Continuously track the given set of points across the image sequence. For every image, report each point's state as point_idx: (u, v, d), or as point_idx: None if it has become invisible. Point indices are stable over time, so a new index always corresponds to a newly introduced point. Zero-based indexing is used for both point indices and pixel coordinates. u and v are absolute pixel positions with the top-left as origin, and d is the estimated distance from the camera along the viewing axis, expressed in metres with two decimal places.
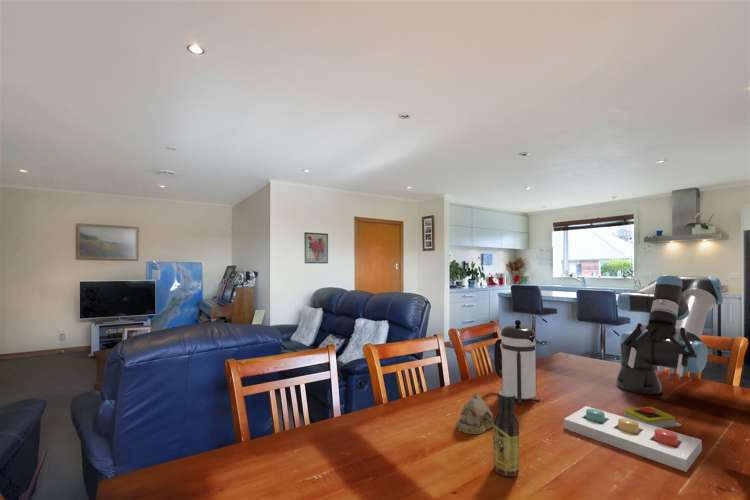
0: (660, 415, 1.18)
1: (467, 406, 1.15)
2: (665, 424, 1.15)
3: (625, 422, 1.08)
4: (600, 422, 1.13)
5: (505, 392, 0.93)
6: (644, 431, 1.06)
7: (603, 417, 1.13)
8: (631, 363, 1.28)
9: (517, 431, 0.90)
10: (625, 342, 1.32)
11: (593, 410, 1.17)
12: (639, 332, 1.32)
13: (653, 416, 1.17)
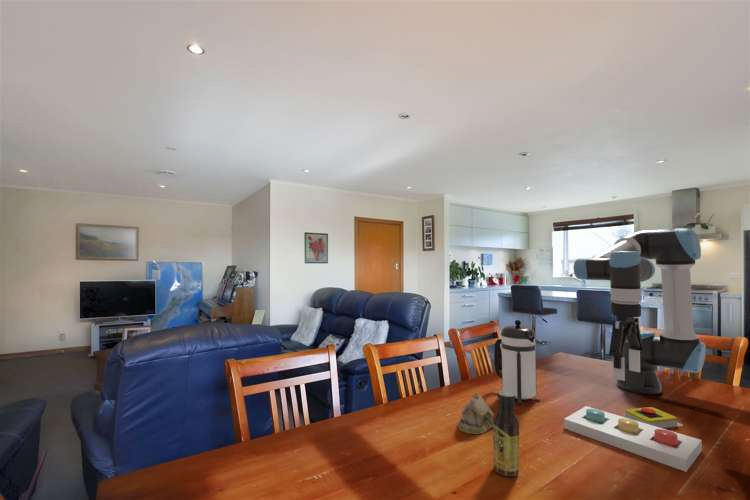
0: (661, 415, 1.18)
1: (468, 406, 1.15)
2: (666, 424, 1.15)
3: (625, 422, 1.08)
4: (600, 422, 1.13)
5: (505, 392, 0.93)
6: (644, 431, 1.06)
7: (603, 417, 1.13)
8: (631, 368, 1.13)
9: (517, 431, 0.90)
10: None
11: (593, 410, 1.17)
12: None
13: (654, 416, 1.17)
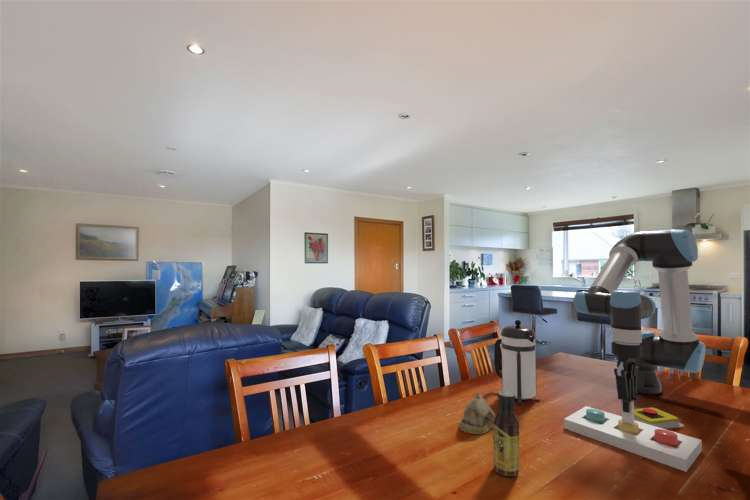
0: (663, 416, 1.17)
1: (470, 406, 1.15)
2: (668, 425, 1.15)
3: (625, 423, 1.08)
4: (600, 422, 1.13)
5: (505, 392, 0.93)
6: (644, 431, 1.06)
7: (603, 417, 1.13)
8: None
9: (517, 431, 0.90)
10: None
11: (593, 410, 1.17)
12: None
13: (656, 417, 1.17)
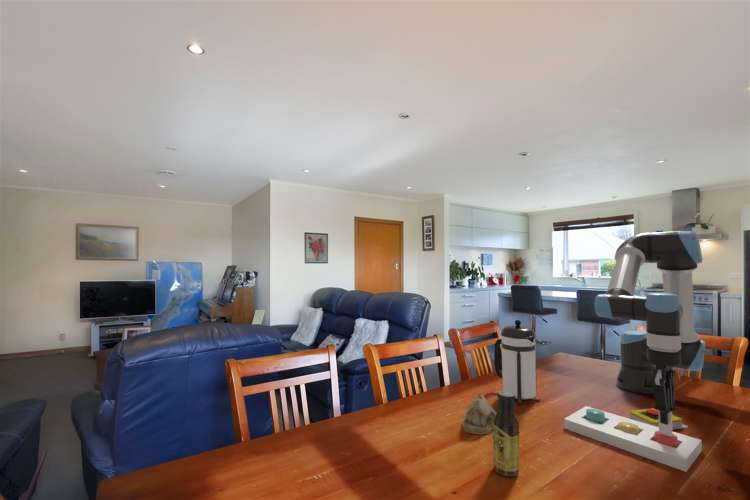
0: None
1: (473, 406, 1.15)
2: None
3: (626, 426, 1.08)
4: (600, 422, 1.13)
5: (505, 392, 0.93)
6: (644, 431, 1.06)
7: (603, 417, 1.13)
8: None
9: (517, 431, 0.90)
10: None
11: (593, 410, 1.17)
12: None
13: None
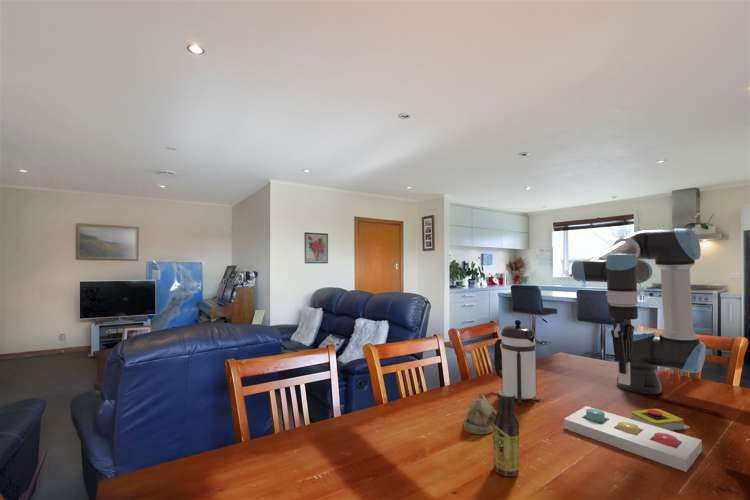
0: (668, 417, 1.16)
1: (475, 406, 1.15)
2: (673, 427, 1.14)
3: (626, 426, 1.08)
4: (600, 422, 1.13)
5: (505, 392, 0.93)
6: (644, 431, 1.06)
7: (603, 417, 1.13)
8: None
9: (517, 431, 0.90)
10: None
11: (593, 410, 1.17)
12: None
13: (661, 418, 1.15)
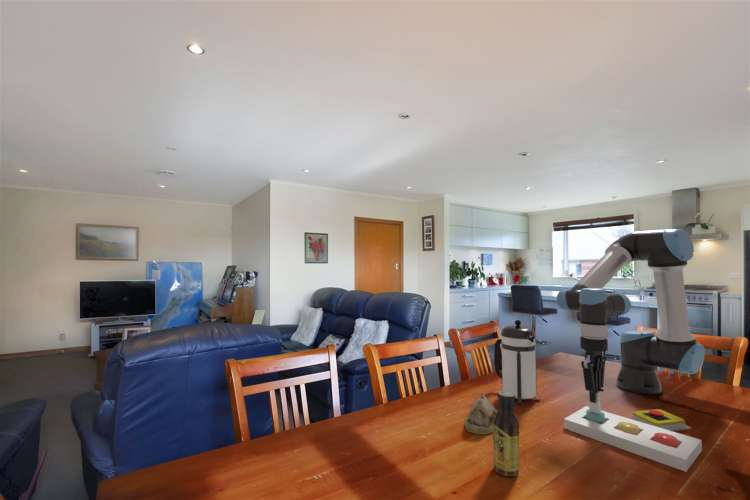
0: (669, 418, 1.16)
1: (476, 406, 1.15)
2: (675, 427, 1.13)
3: (626, 426, 1.08)
4: (600, 423, 1.13)
5: (505, 392, 0.93)
6: (644, 431, 1.06)
7: (603, 418, 1.13)
8: None
9: (517, 431, 0.90)
10: None
11: None
12: None
13: (662, 419, 1.15)
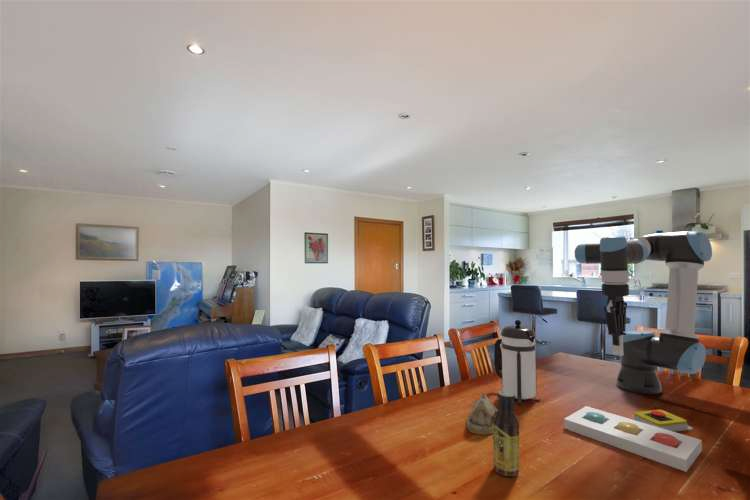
0: (671, 418, 1.15)
1: (478, 407, 1.14)
2: (677, 428, 1.13)
3: (626, 426, 1.08)
4: None
5: (505, 392, 0.93)
6: (644, 431, 1.06)
7: (603, 420, 1.13)
8: None
9: (517, 431, 0.90)
10: None
11: (593, 413, 1.17)
12: None
13: (664, 419, 1.15)
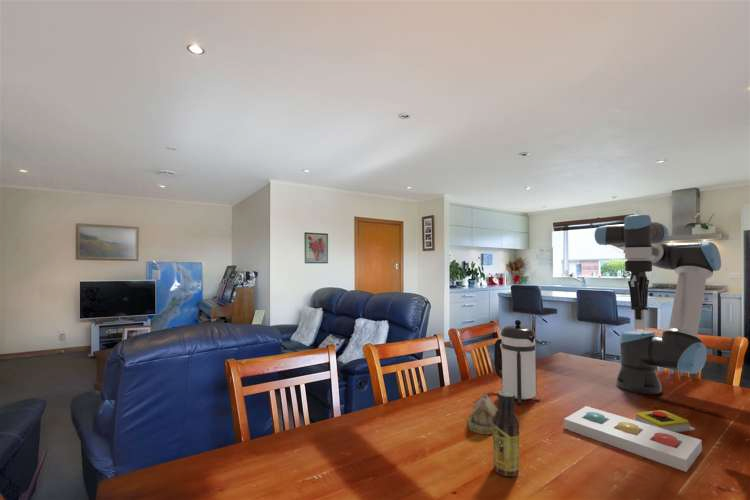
0: (673, 419, 1.15)
1: (480, 407, 1.14)
2: (679, 428, 1.13)
3: (626, 426, 1.08)
4: None
5: (505, 392, 0.93)
6: (644, 431, 1.06)
7: (603, 420, 1.13)
8: None
9: (517, 431, 0.90)
10: None
11: (593, 413, 1.17)
12: None
13: (666, 420, 1.14)
